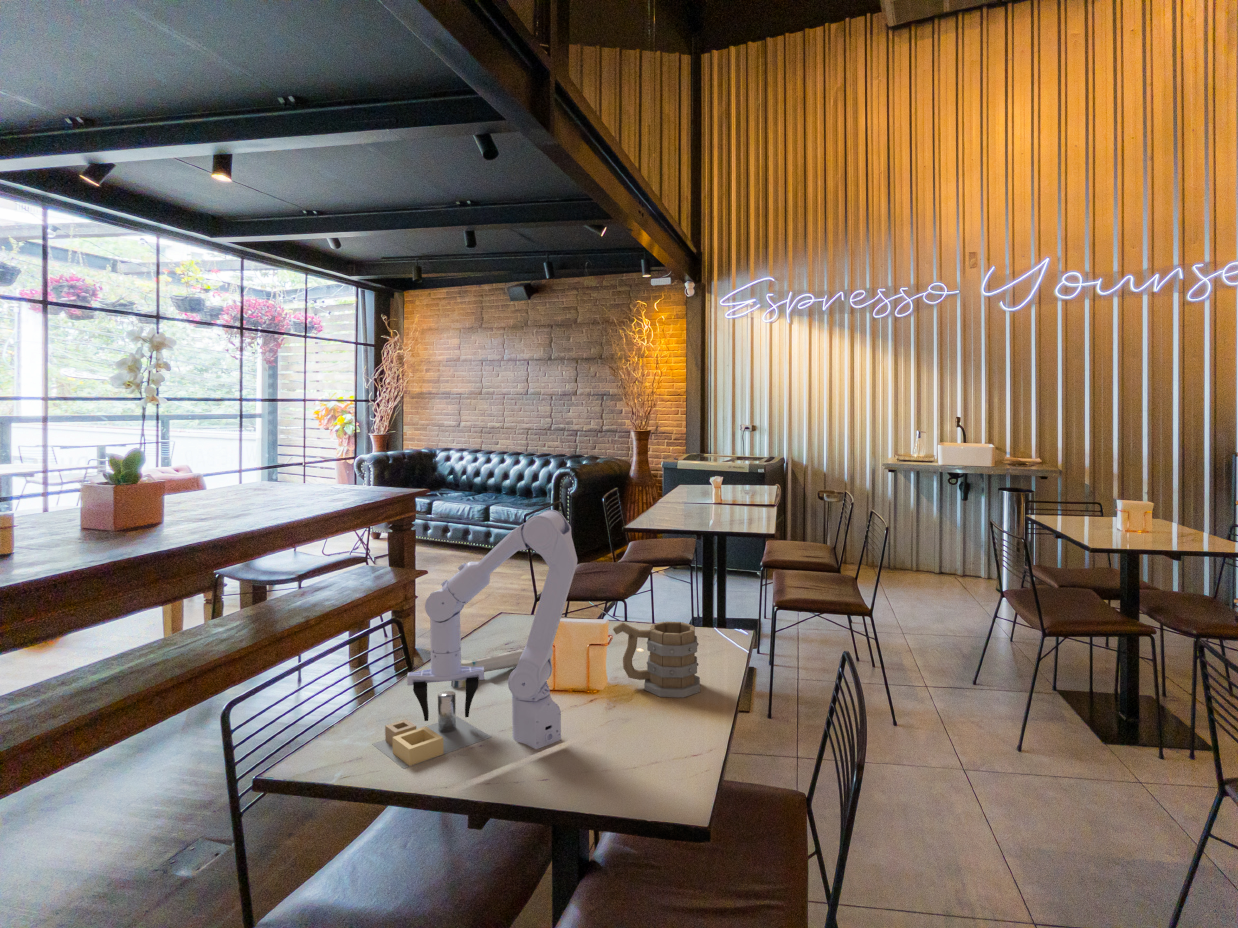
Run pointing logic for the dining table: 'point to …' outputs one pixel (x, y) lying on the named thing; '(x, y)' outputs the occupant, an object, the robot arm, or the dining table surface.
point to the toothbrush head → (491, 664)
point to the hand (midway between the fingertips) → (446, 716)
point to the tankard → (665, 658)
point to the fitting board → (425, 741)
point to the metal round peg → (446, 711)
